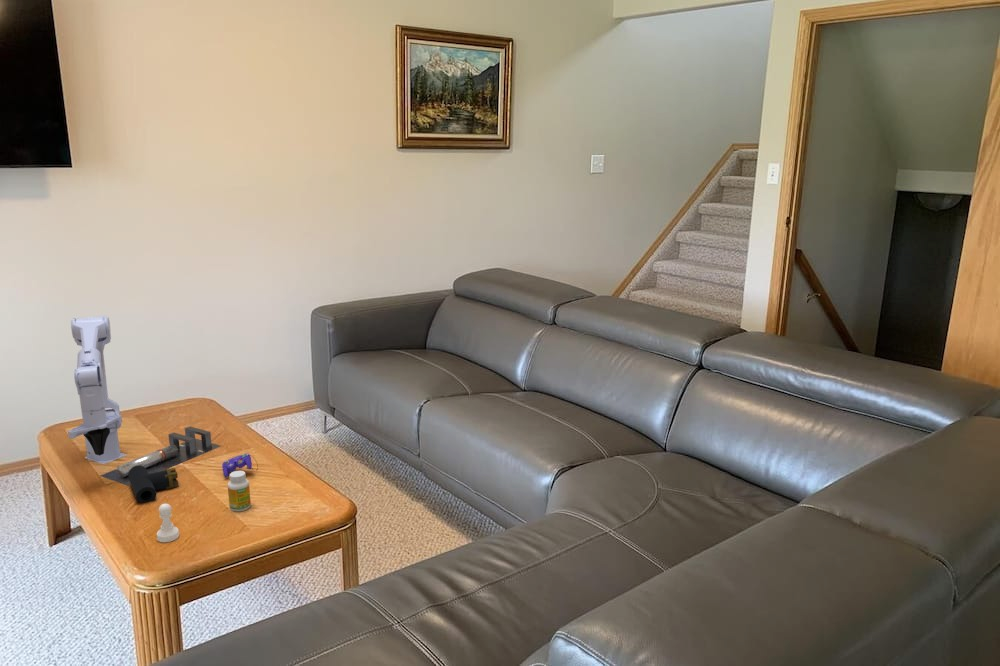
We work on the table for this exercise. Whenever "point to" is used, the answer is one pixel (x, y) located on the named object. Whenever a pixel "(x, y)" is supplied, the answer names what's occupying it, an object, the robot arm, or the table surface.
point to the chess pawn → (166, 525)
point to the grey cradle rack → (185, 452)
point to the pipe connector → (151, 482)
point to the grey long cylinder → (148, 460)
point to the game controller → (237, 463)
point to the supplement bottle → (238, 491)
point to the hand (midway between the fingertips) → (99, 454)
